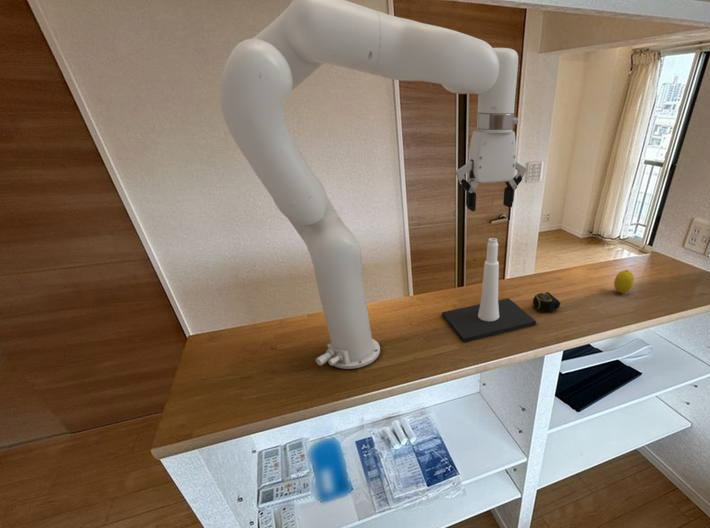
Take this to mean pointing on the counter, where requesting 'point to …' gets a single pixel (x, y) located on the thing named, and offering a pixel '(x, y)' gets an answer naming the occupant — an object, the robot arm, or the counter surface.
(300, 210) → the robot arm
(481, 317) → the cosmetic bottle
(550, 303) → the tape measure
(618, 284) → the lemon
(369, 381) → the counter surface
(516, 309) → the mat
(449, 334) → the counter surface
